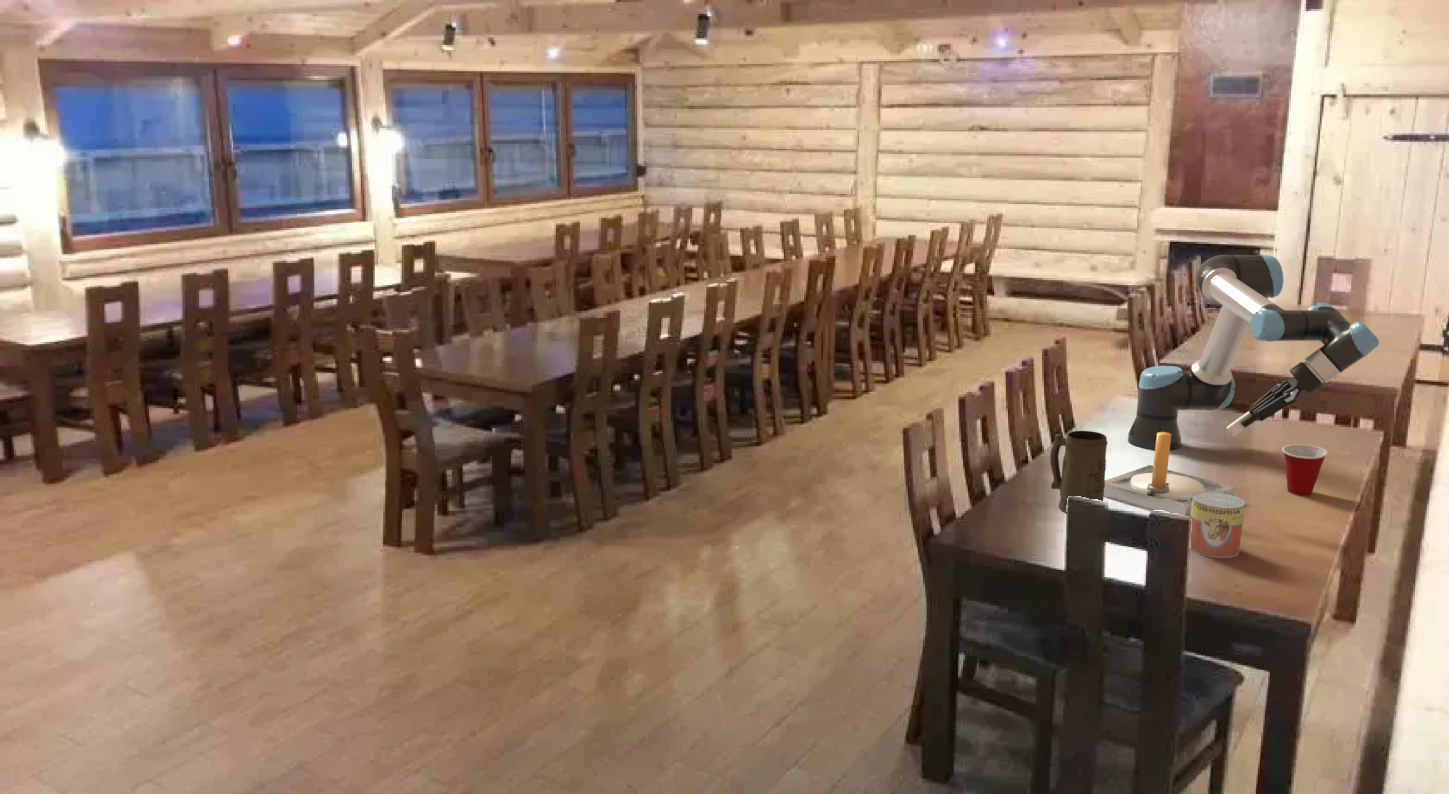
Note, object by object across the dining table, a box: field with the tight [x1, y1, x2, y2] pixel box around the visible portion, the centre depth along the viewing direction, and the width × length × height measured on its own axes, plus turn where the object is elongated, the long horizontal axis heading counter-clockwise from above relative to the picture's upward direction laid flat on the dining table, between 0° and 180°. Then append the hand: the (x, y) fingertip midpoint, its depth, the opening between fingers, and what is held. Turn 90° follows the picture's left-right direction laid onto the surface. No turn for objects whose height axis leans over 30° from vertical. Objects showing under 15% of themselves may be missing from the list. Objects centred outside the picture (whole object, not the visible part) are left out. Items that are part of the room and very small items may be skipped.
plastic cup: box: [1281, 443, 1329, 496], centre depth 300 cm, size 11×11×12 cm
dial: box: [1130, 432, 1204, 500], centre depth 294 cm, size 19×18×16 cm
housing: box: [1103, 464, 1235, 516], centre depth 296 cm, size 24×24×4 cm
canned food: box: [1189, 492, 1246, 559], centre depth 261 cm, size 11×11×12 cm
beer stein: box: [1049, 430, 1108, 513], centre depth 287 cm, size 15×11×20 cm
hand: (1230, 431), depth 283 cm, fingers closed
